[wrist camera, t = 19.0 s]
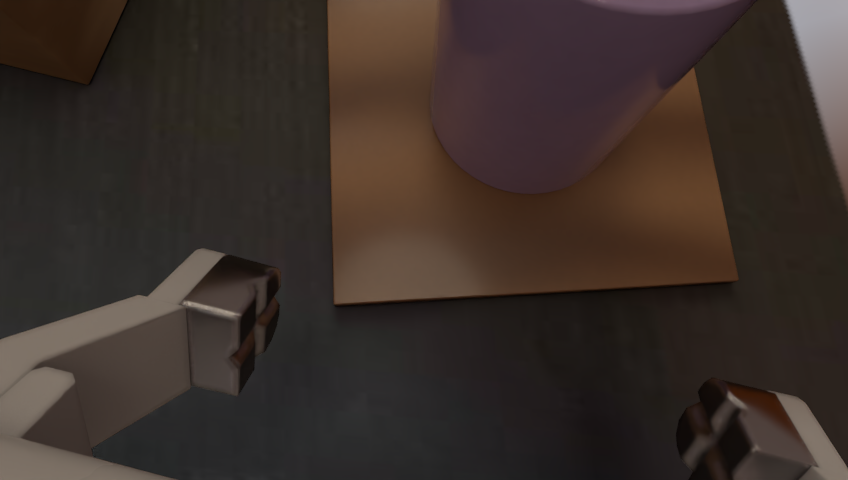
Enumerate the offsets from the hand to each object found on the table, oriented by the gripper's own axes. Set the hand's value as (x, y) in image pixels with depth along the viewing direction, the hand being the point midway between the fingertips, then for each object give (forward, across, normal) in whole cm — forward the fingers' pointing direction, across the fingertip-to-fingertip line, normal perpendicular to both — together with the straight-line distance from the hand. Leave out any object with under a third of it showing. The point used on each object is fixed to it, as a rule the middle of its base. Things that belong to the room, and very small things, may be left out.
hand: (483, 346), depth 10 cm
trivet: (+11, 0, -2) cm, 11 cm away
